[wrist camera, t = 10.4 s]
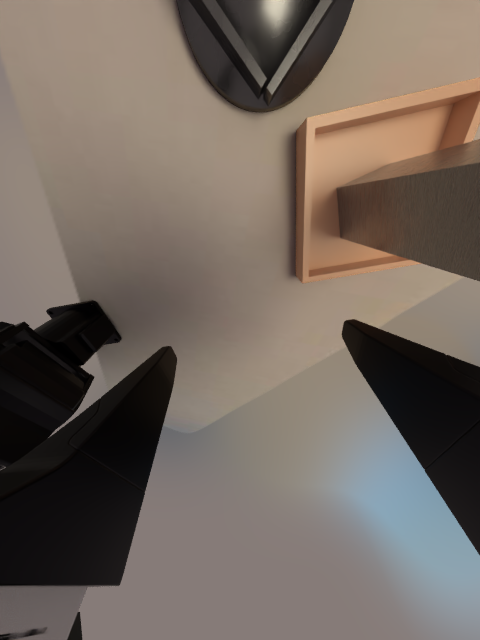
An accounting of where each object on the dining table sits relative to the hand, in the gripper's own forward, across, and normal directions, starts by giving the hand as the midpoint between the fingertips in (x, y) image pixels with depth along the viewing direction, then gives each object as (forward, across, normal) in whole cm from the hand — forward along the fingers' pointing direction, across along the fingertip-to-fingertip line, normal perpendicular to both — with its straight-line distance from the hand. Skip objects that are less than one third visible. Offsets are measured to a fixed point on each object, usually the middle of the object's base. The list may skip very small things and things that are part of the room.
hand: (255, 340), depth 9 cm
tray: (+13, -12, -4) cm, 18 cm away
